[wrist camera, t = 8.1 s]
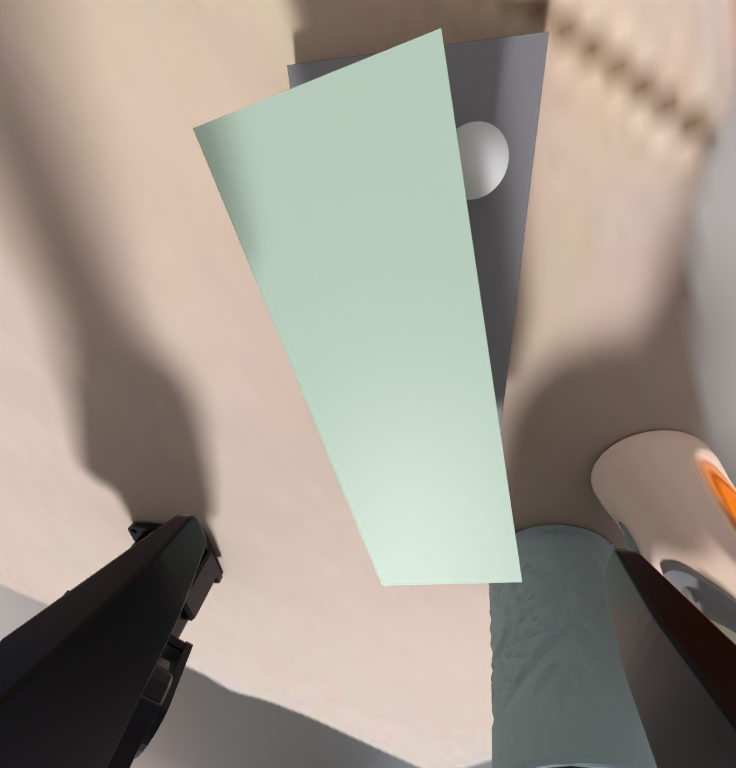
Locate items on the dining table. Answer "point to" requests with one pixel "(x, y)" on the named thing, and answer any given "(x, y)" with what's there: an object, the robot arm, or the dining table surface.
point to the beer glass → (676, 515)
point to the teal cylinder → (560, 660)
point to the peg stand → (488, 164)
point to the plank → (379, 303)
